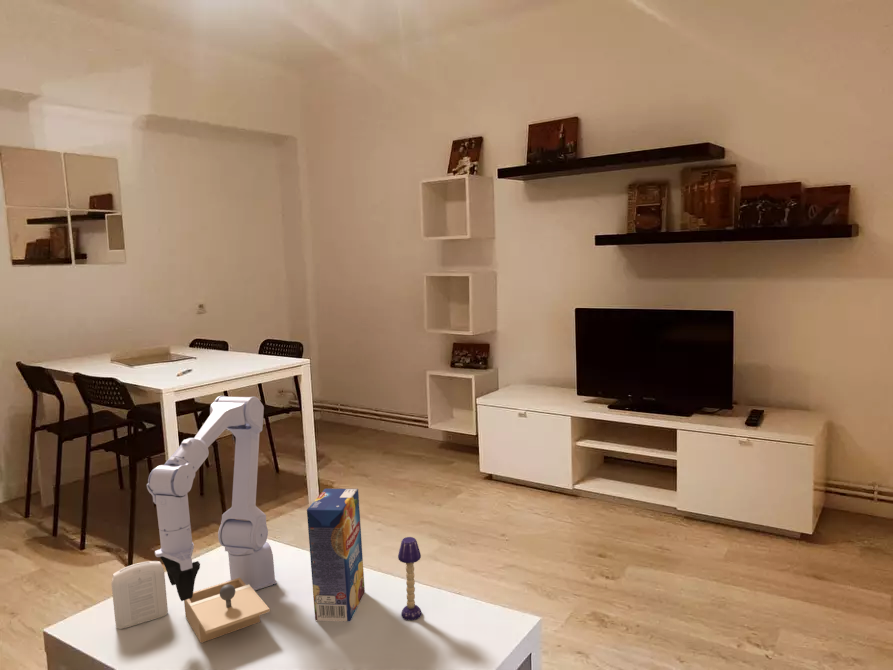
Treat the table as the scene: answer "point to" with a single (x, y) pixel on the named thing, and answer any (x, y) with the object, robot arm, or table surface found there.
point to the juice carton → (336, 554)
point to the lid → (228, 607)
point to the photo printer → (139, 593)
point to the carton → (209, 593)
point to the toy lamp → (410, 576)
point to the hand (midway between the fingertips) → (181, 590)
